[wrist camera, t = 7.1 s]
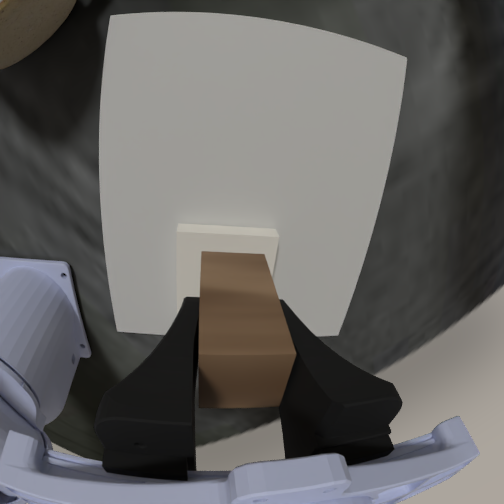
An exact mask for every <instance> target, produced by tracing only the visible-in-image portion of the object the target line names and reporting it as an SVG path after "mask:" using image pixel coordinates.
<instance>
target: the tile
mask: <svg viewBox="0 0 504 504" xmlns="http://www.w3.org/2000/svg"><path fill="white" fill-rule="evenodd" d="M278 242H279V235H278V233H277V231H276V229H270V228H254V227H238V226H220V225H201V224H181V223H178V228H177V237H176V284H177V314H178V312H179V310H180V308H181V306H182V303H183V300H184V298H185V297H200V272H201V251H210V252H231V253H252V254H265V257H266V260H267V263H268V267H269V270H270V273H271V276H273V270H274V264H275V259H276V253H277V247H278Z"/></svg>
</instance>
